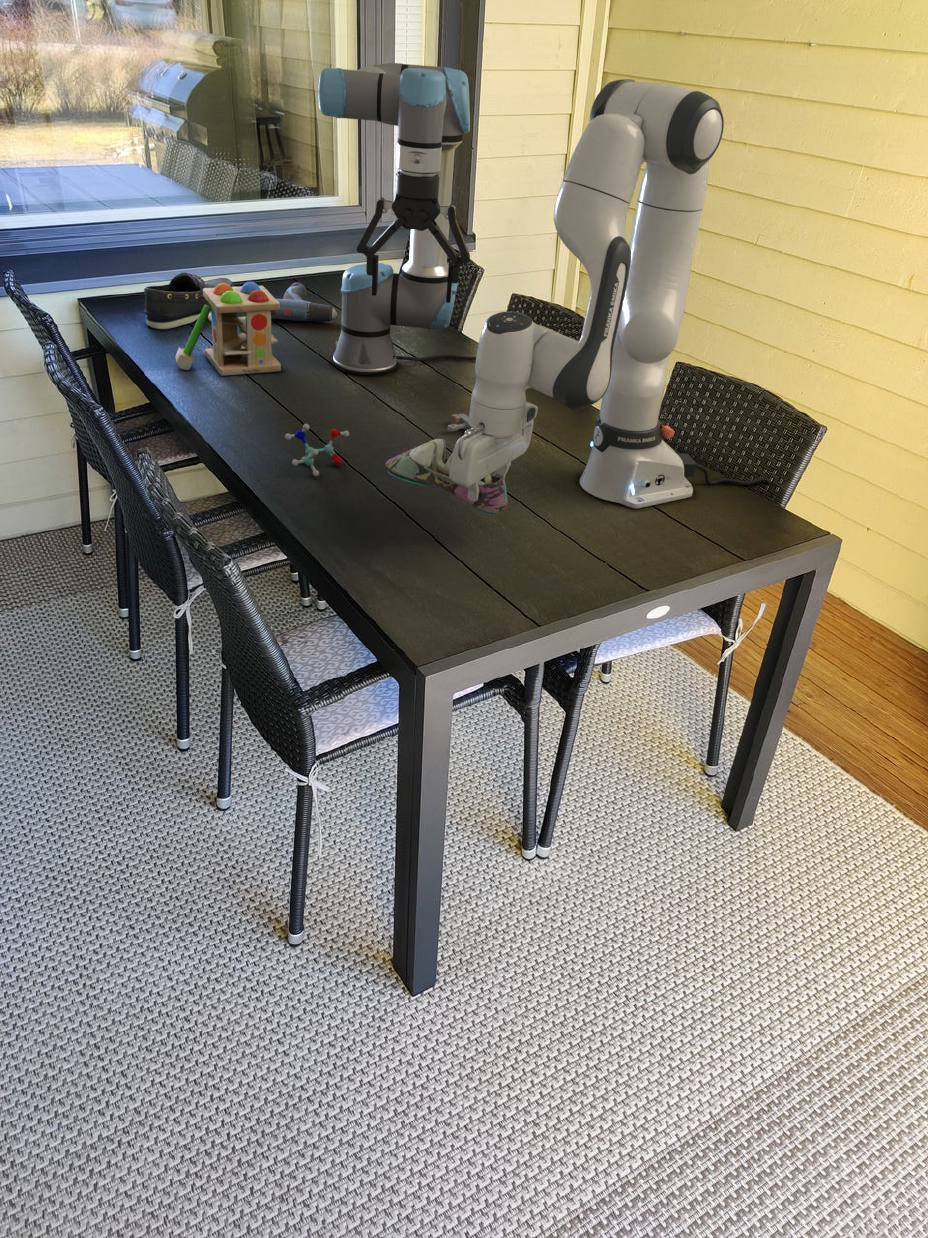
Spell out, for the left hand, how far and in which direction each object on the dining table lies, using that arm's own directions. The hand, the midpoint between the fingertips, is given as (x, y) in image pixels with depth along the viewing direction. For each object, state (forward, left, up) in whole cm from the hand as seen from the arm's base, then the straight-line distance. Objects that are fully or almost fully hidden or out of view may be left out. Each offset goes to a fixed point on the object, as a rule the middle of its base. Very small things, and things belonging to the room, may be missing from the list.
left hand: (411, 297), depth 180 cm
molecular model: (+18, -6, -32) cm, 37 cm away
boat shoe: (-9, -98, -32) cm, 103 cm away
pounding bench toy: (+4, -61, -32) cm, 68 cm away
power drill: (-36, -84, -32) cm, 96 cm away
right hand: (+10, +34, -22) cm, 42 cm away
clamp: (-19, +1, -32) cm, 37 cm away
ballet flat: (+12, +26, -25) cm, 38 cm away
